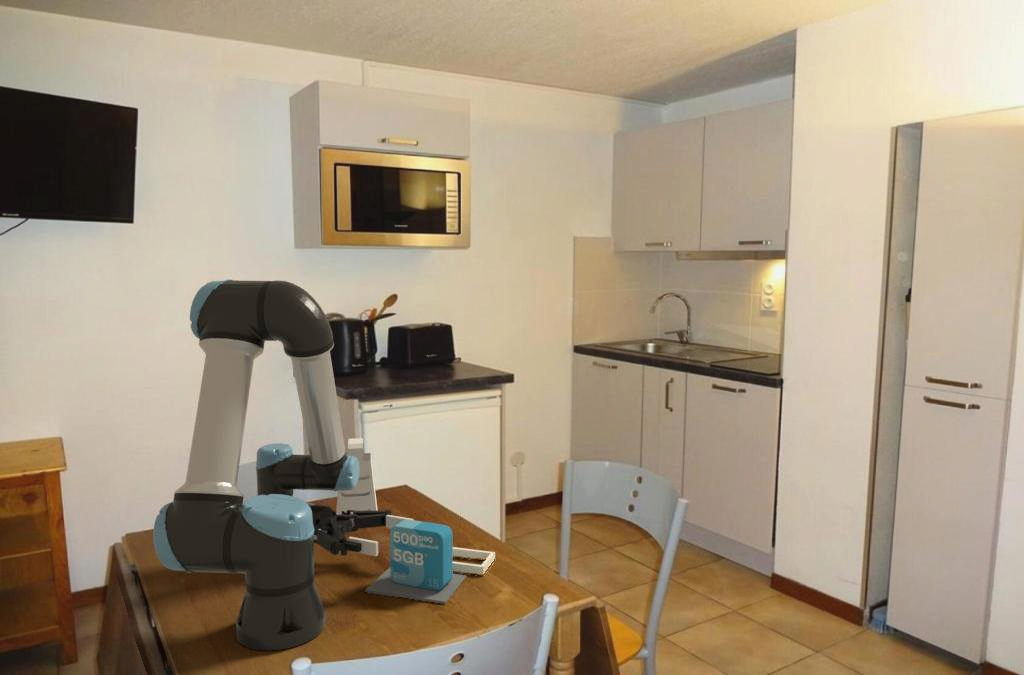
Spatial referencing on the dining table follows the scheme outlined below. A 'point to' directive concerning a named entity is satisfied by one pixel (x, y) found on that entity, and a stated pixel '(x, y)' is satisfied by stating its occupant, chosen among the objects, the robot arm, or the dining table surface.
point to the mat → (414, 589)
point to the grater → (359, 483)
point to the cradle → (472, 554)
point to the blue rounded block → (421, 554)
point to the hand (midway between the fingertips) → (395, 536)
